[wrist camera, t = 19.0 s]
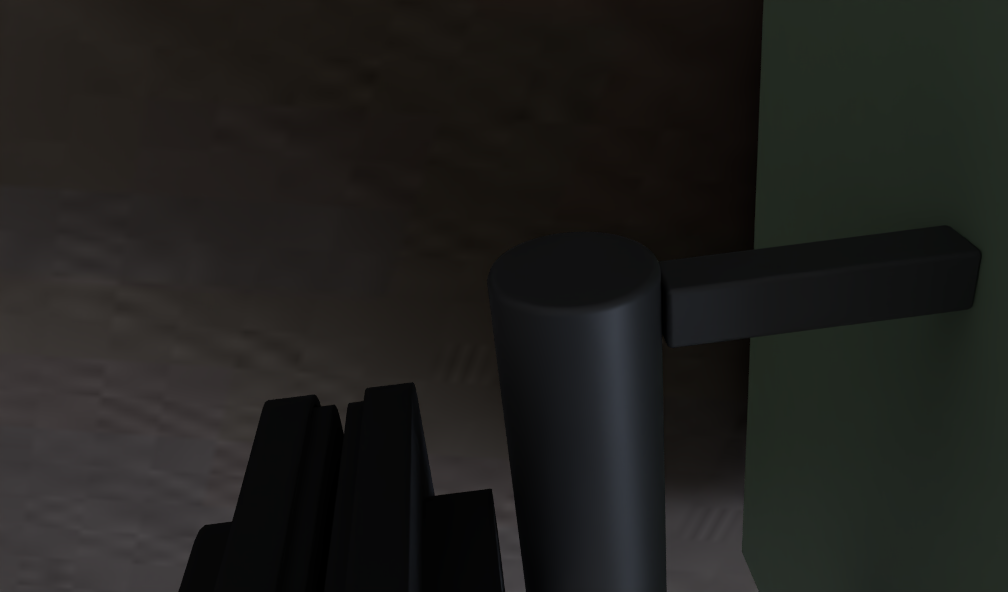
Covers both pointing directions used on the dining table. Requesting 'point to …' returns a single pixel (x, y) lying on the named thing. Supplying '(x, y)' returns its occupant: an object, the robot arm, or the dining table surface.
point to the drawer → (796, 328)
